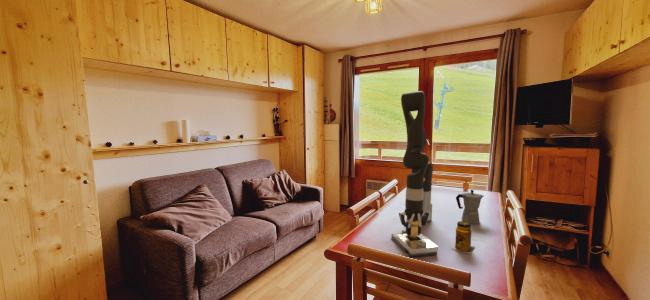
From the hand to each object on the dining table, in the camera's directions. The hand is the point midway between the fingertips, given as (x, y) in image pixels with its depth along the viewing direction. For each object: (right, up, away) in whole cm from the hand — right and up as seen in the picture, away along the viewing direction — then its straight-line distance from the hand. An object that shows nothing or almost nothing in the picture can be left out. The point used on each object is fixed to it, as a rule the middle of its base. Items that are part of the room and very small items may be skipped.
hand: (413, 234), depth 123 cm
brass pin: (0, -3, 0) cm, 3 cm away
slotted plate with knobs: (0, -6, +1) cm, 6 cm away
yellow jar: (+22, -6, -2) cm, 23 cm away
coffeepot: (+41, -2, +30) cm, 51 cm away
